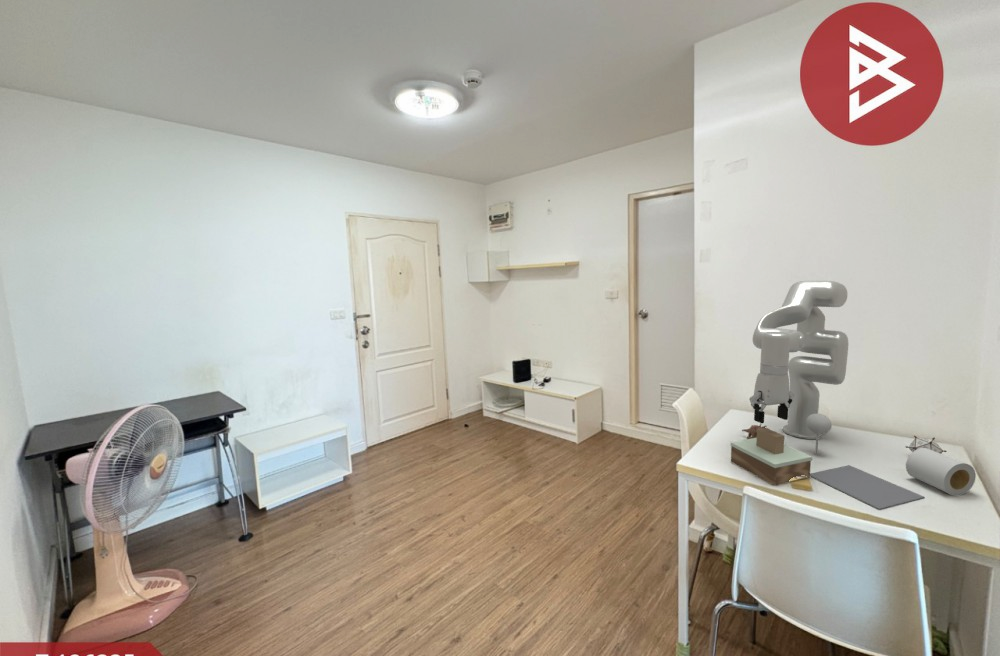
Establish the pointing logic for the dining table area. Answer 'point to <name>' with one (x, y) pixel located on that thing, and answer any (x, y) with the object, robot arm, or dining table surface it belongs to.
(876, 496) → the mat
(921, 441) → the grey rod frame
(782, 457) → the lid
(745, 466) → the crate
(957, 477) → the toilet paper
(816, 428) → the lollipop
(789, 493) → the dining table surface
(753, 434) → the dinosaur figurine
